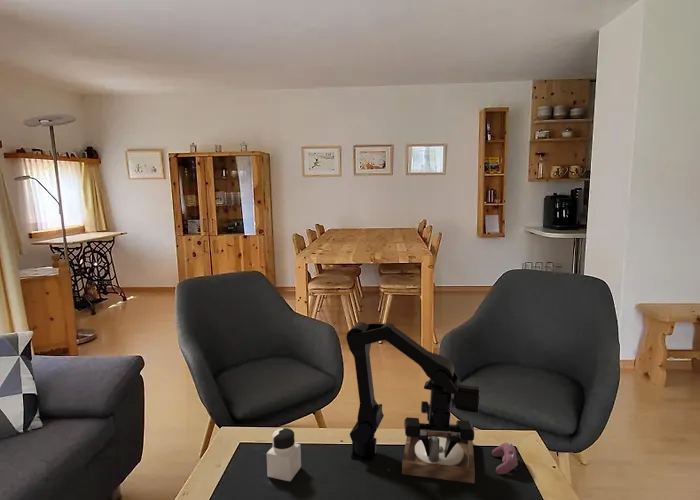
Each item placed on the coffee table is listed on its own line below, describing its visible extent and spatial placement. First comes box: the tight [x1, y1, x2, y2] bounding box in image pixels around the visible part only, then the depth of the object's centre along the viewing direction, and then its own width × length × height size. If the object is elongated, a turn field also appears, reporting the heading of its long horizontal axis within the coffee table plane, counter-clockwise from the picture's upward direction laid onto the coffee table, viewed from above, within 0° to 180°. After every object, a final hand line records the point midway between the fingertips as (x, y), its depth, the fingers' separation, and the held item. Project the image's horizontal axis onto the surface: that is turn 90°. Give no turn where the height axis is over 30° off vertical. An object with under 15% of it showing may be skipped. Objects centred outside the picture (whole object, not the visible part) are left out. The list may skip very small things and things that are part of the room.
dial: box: [415, 436, 464, 466], centre depth 132 cm, size 14×14×7 cm
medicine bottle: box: [266, 427, 302, 482], centre depth 126 cm, size 7×7×12 cm
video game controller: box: [491, 441, 518, 475], centre depth 128 cm, size 10×5×7 cm, turn 170°
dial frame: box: [401, 431, 476, 484], centre depth 132 cm, size 19×19×4 cm
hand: (436, 456), depth 128 cm, fingers open, 4 cm apart
